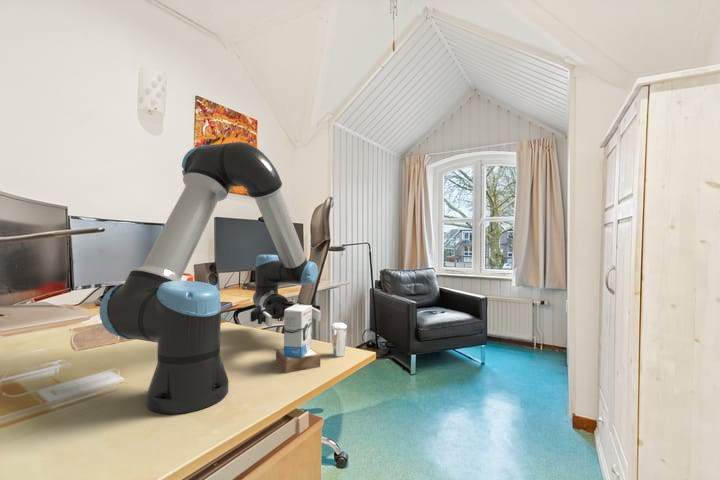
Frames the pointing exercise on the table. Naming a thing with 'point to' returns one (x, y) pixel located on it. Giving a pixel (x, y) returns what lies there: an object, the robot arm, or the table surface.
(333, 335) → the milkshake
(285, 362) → the plinth
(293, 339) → the ink box
